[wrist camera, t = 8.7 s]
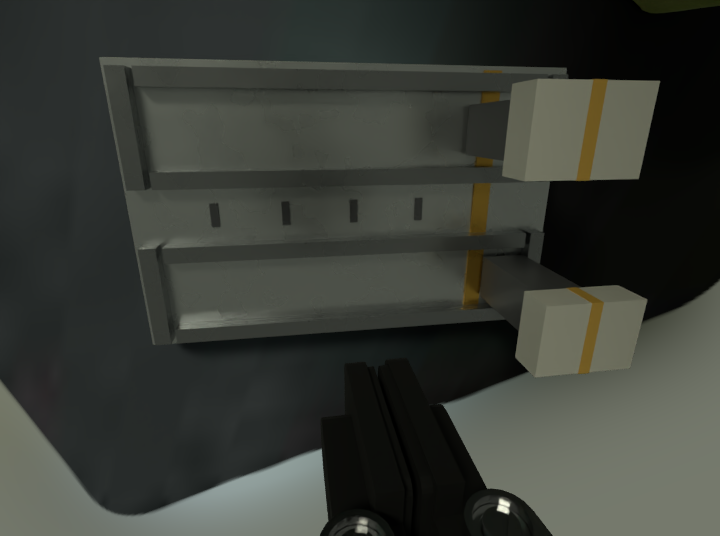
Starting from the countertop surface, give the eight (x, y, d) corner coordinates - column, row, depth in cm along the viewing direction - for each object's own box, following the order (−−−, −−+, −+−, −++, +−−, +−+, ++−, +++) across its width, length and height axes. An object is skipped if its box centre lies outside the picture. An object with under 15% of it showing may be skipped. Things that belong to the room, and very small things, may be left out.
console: (117, 63, 19) (90, 54, 17) (544, 72, 23) (577, 65, 20) (164, 327, 24) (148, 352, 21) (513, 304, 27) (537, 323, 25)
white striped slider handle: (450, 95, 20) (538, 77, 13) (533, 96, 21) (660, 80, 14) (446, 163, 21) (524, 181, 14) (525, 162, 22) (638, 179, 15)
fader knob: (467, 250, 23) (547, 306, 16) (540, 247, 23) (647, 299, 16) (462, 303, 24) (534, 378, 17) (532, 298, 25) (630, 369, 17)
